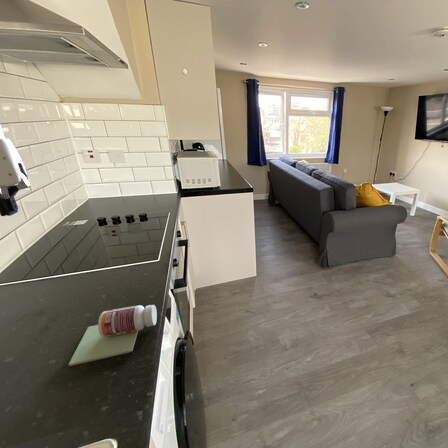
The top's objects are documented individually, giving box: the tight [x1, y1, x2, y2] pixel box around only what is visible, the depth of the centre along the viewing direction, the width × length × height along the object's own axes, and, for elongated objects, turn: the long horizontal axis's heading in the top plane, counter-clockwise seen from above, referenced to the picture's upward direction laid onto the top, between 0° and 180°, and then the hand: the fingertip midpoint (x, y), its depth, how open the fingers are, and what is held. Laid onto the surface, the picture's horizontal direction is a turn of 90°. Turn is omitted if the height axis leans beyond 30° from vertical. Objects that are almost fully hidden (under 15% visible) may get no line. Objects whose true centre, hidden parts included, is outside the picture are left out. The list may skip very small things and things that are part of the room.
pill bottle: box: [97, 304, 158, 337], centre depth 65 cm, size 6×6×11 cm
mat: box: [68, 324, 139, 367], centre depth 64 cm, size 12×12×1 cm
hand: (9, 214), depth 62 cm, fingers closed
